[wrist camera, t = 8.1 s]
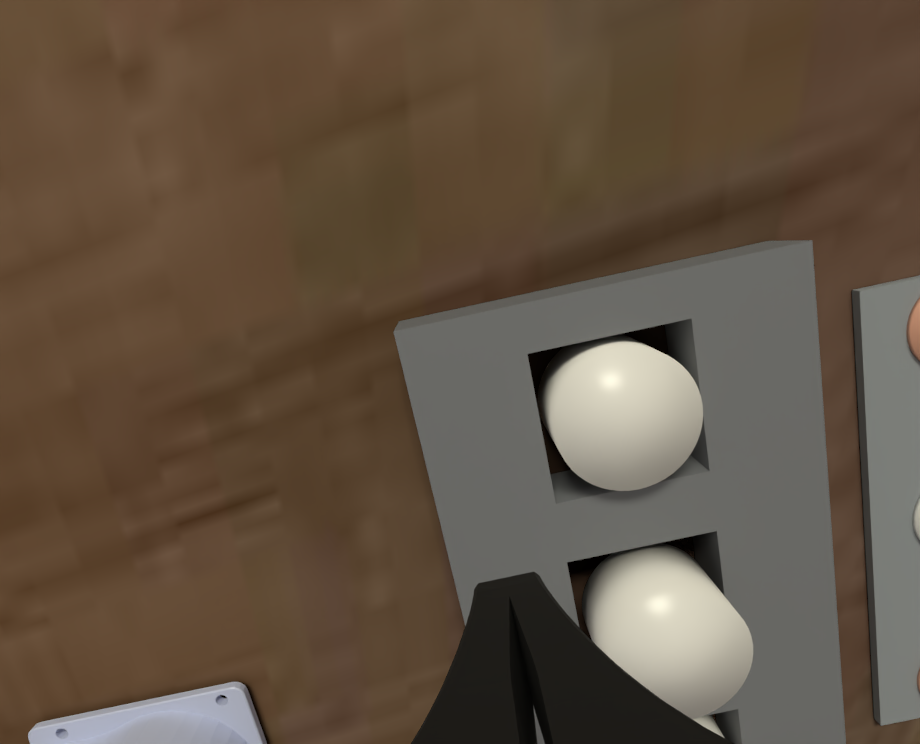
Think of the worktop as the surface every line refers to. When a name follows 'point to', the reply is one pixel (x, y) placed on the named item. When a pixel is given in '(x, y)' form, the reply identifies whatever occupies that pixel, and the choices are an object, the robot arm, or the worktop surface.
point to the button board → (682, 493)
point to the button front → (620, 411)
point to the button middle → (668, 627)
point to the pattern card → (891, 487)
